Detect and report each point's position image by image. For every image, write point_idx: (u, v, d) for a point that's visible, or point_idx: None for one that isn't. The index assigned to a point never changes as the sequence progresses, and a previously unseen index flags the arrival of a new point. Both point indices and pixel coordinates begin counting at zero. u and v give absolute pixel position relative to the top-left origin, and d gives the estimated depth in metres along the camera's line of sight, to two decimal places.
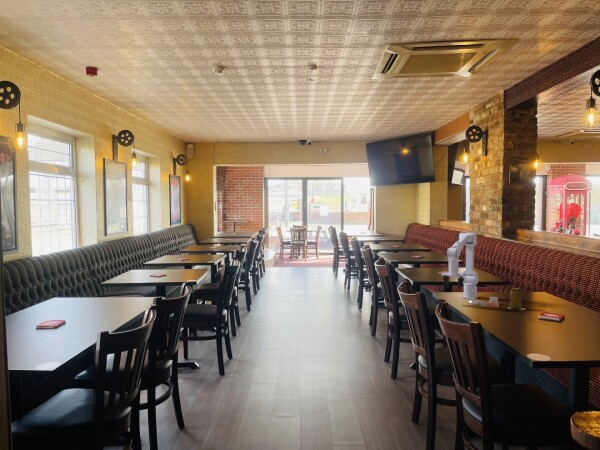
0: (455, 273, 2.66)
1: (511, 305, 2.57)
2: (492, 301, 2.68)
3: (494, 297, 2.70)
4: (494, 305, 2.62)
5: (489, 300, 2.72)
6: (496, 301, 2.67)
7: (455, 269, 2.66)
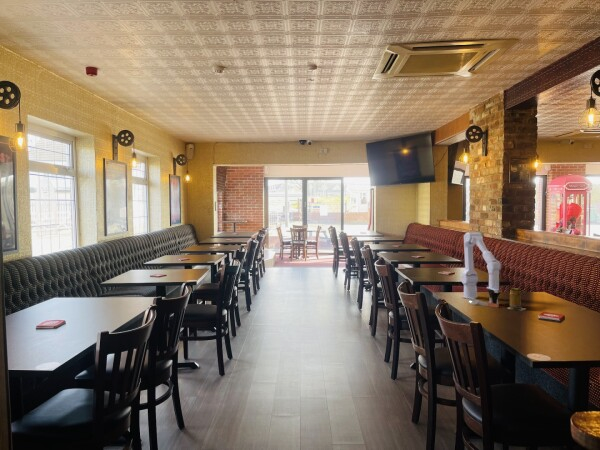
0: (491, 286, 2.68)
1: (511, 305, 2.57)
2: None
3: None
4: (494, 305, 2.62)
5: (489, 300, 2.72)
6: None
7: (491, 282, 2.67)
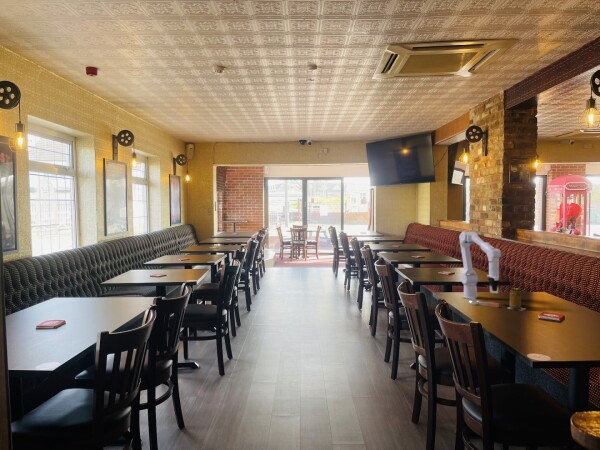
0: (491, 274, 2.67)
1: (511, 305, 2.57)
2: None
3: None
4: (494, 305, 2.62)
5: None
6: None
7: (491, 270, 2.67)
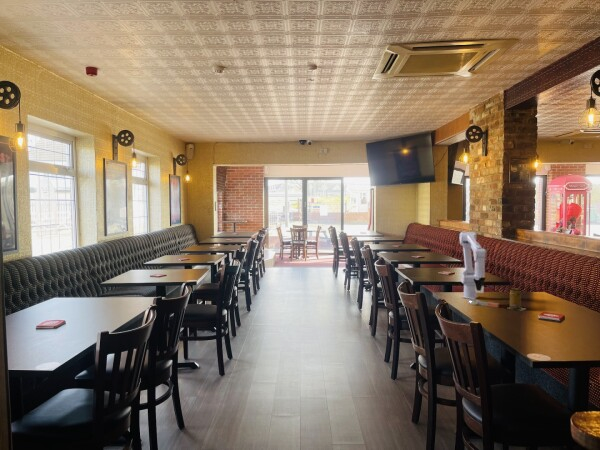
0: (475, 274, 2.70)
1: (511, 305, 2.57)
2: None
3: None
4: (494, 305, 2.62)
5: None
6: None
7: (475, 270, 2.70)
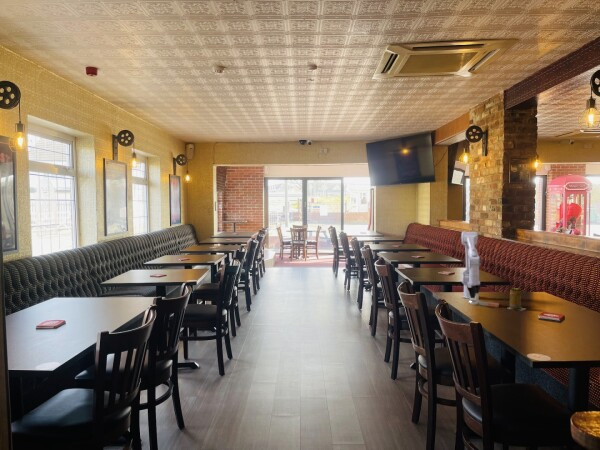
0: (469, 281, 2.71)
1: (511, 305, 2.57)
2: None
3: None
4: (494, 305, 2.62)
5: None
6: None
7: (469, 277, 2.71)
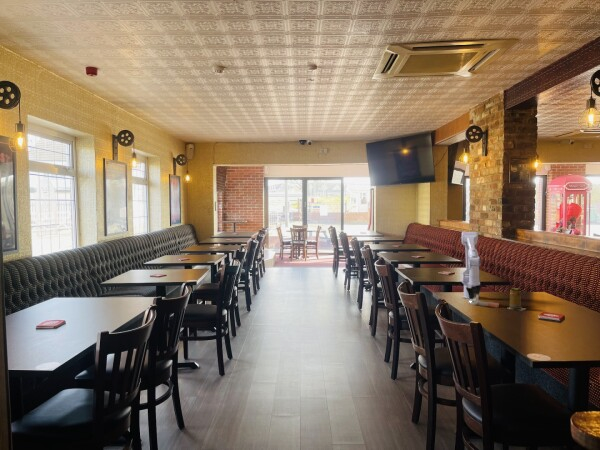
0: (469, 282, 2.71)
1: (511, 305, 2.57)
2: None
3: None
4: (494, 305, 2.62)
5: None
6: (474, 297, 2.69)
7: (469, 278, 2.71)
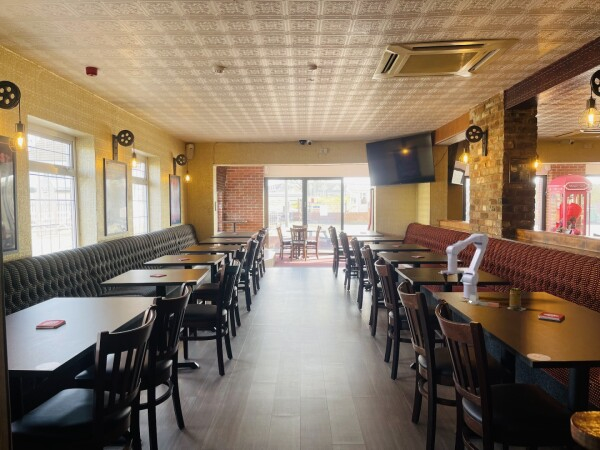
0: None
1: (511, 305, 2.57)
2: (470, 297, 2.71)
3: None
4: (494, 305, 2.62)
5: None
6: (474, 297, 2.69)
7: None
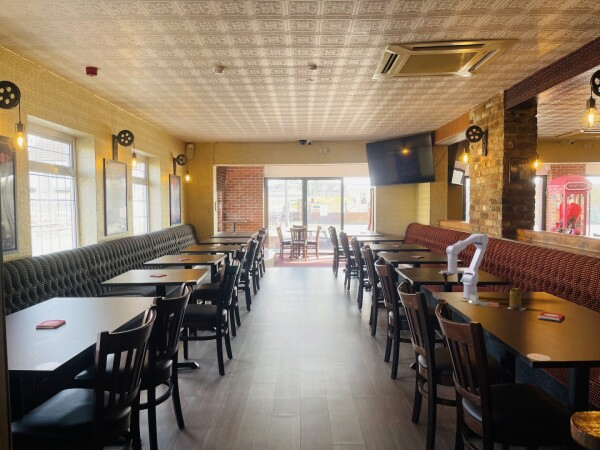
0: None
1: (511, 305, 2.57)
2: (470, 297, 2.71)
3: None
4: (494, 305, 2.62)
5: None
6: (474, 297, 2.69)
7: None
